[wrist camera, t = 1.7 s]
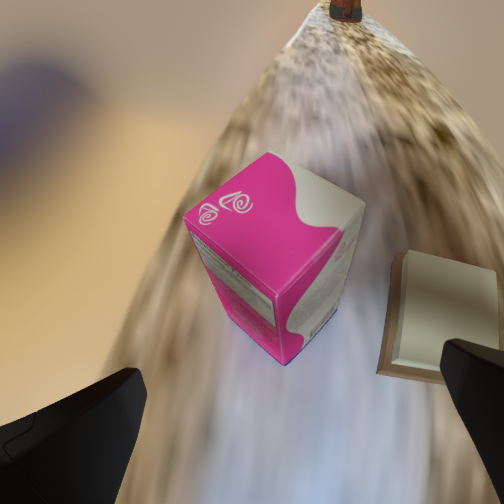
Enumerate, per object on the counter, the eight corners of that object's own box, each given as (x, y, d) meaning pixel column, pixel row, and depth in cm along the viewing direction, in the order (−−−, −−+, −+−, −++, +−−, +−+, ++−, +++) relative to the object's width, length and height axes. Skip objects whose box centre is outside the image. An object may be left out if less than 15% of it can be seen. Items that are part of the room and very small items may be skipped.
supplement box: (278, 263, 24) (272, 144, 15) (338, 310, 22) (376, 204, 12) (223, 314, 22) (178, 212, 13) (283, 369, 20) (284, 302, 10)
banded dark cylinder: (330, 24, 59) (330, -17, 49) (328, 14, 65) (328, -22, 55) (365, 28, 57) (367, -13, 48) (359, 17, 64) (360, -18, 54)
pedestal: (479, 388, 17) (502, 379, 14) (376, 373, 19) (389, 363, 16) (482, 284, 21) (499, 267, 19) (391, 263, 23) (402, 242, 21)
